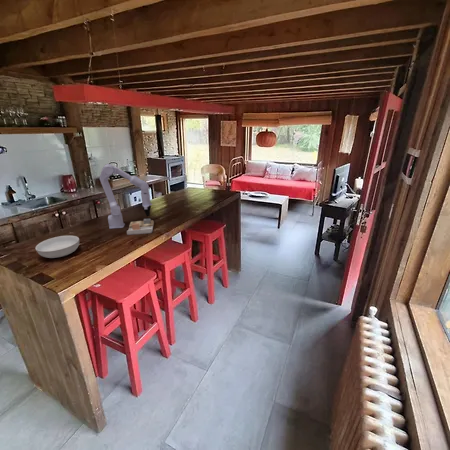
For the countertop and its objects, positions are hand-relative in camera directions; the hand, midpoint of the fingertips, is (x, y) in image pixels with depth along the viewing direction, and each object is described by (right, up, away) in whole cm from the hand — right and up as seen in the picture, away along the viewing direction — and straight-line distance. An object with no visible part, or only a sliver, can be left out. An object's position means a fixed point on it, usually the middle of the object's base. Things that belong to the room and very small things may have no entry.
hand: (148, 215), depth 190 cm
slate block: (+1, -5, -6) cm, 8 cm away
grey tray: (0, -11, -15) cm, 19 cm away
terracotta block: (-4, -8, -14) cm, 16 cm away
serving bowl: (-36, -23, -46) cm, 63 cm away
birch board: (-2, -8, -6) cm, 10 cm away
